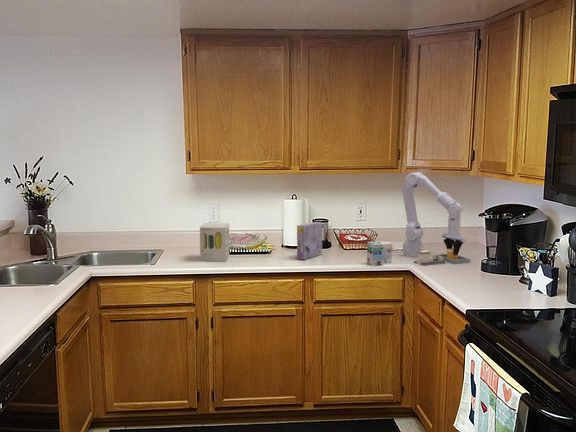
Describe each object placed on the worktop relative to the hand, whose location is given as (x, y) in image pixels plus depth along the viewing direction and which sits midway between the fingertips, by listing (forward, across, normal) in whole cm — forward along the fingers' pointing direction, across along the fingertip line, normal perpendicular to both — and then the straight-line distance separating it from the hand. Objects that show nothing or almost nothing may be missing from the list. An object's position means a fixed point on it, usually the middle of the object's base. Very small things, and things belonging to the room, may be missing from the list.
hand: (452, 254), depth 278 cm
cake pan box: (+4, -42, -58) cm, 72 cm away
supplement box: (+4, -58, -104) cm, 120 cm away
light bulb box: (+4, -13, -35) cm, 38 cm away
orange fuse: (+3, 0, 0) cm, 3 cm away
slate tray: (+4, 0, 0) cm, 4 cm away
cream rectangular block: (+3, -1, -18) cm, 18 cm away
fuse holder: (+4, -1, -14) cm, 15 cm away
